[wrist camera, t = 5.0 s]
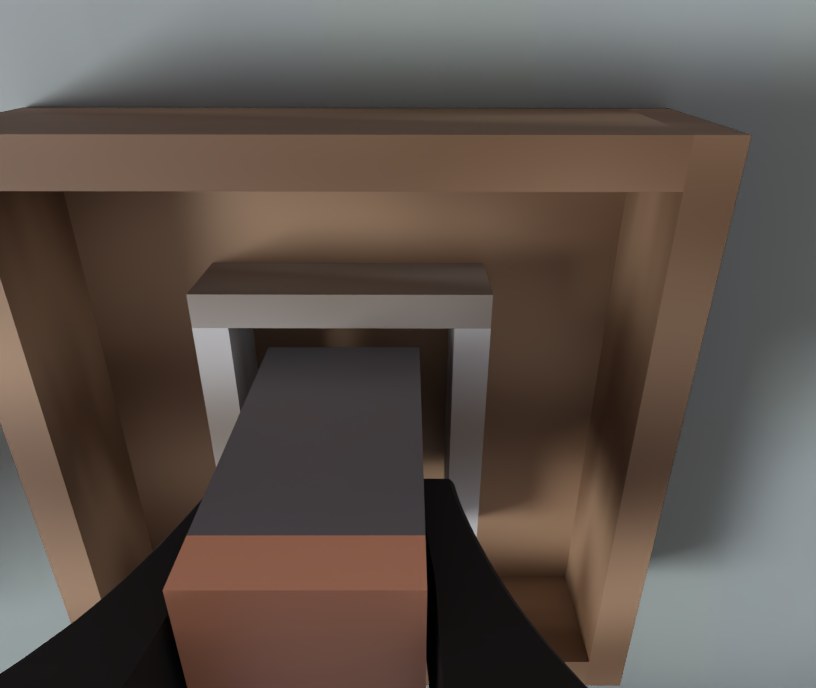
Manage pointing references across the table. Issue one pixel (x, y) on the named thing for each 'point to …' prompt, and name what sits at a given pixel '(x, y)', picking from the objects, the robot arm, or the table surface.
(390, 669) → the rectangular block
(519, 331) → the walled box
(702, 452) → the table surface
